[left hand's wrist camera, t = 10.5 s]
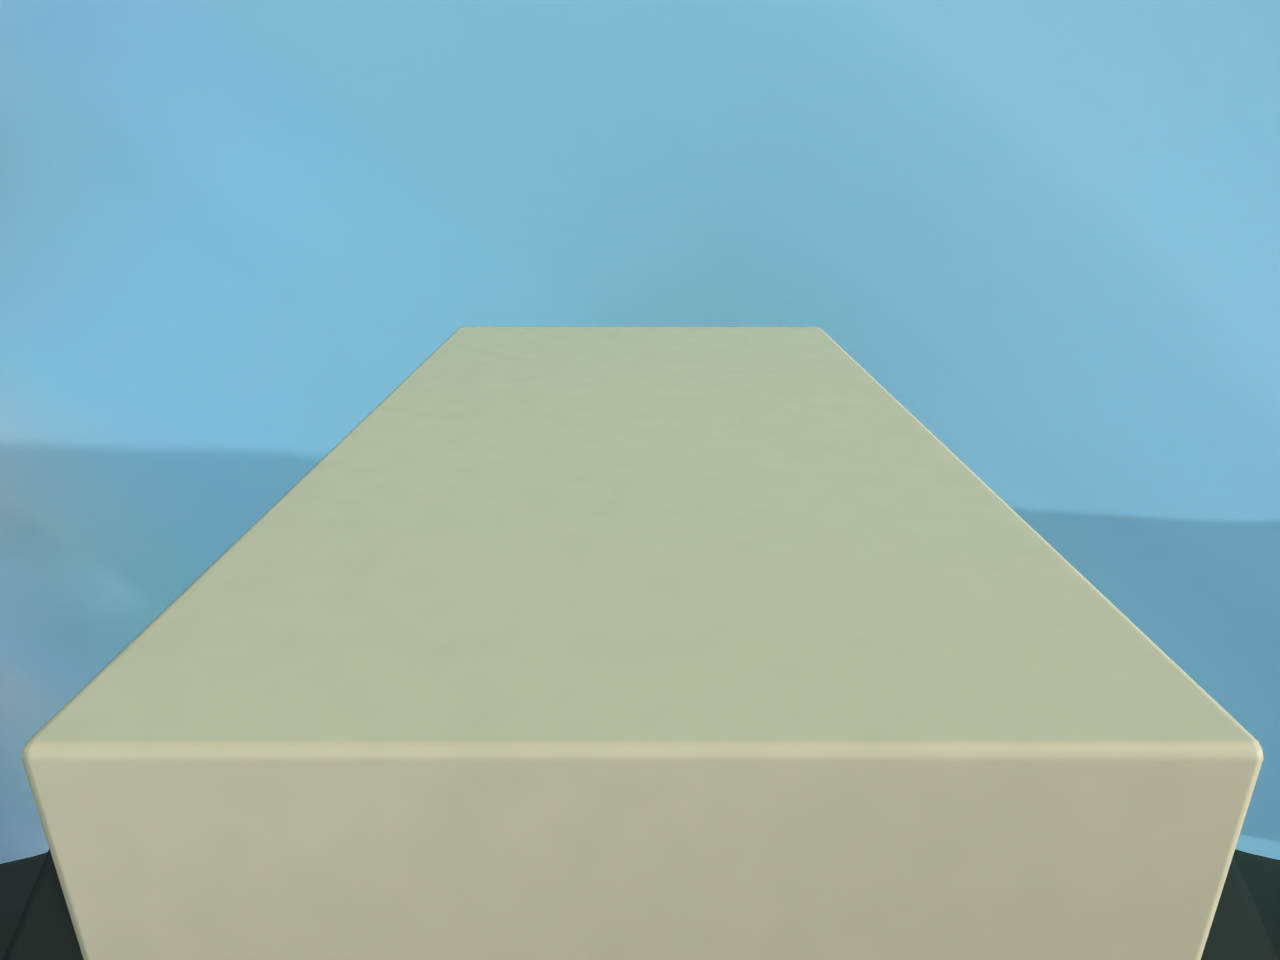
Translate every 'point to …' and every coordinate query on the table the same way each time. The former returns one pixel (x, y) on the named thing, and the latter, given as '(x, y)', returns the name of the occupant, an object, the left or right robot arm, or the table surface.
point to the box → (641, 693)
